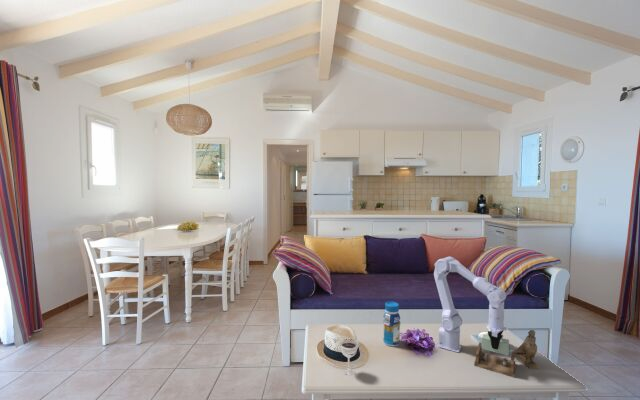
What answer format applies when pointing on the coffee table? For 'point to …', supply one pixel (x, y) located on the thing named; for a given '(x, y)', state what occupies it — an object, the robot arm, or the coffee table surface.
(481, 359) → the shelf frame
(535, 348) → the brown carved statuette
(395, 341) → the beverage bottle
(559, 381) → the coffee table surface
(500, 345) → the pale green rectangular block
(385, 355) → the coffee table surface
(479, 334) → the bust
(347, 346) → the wineglass
